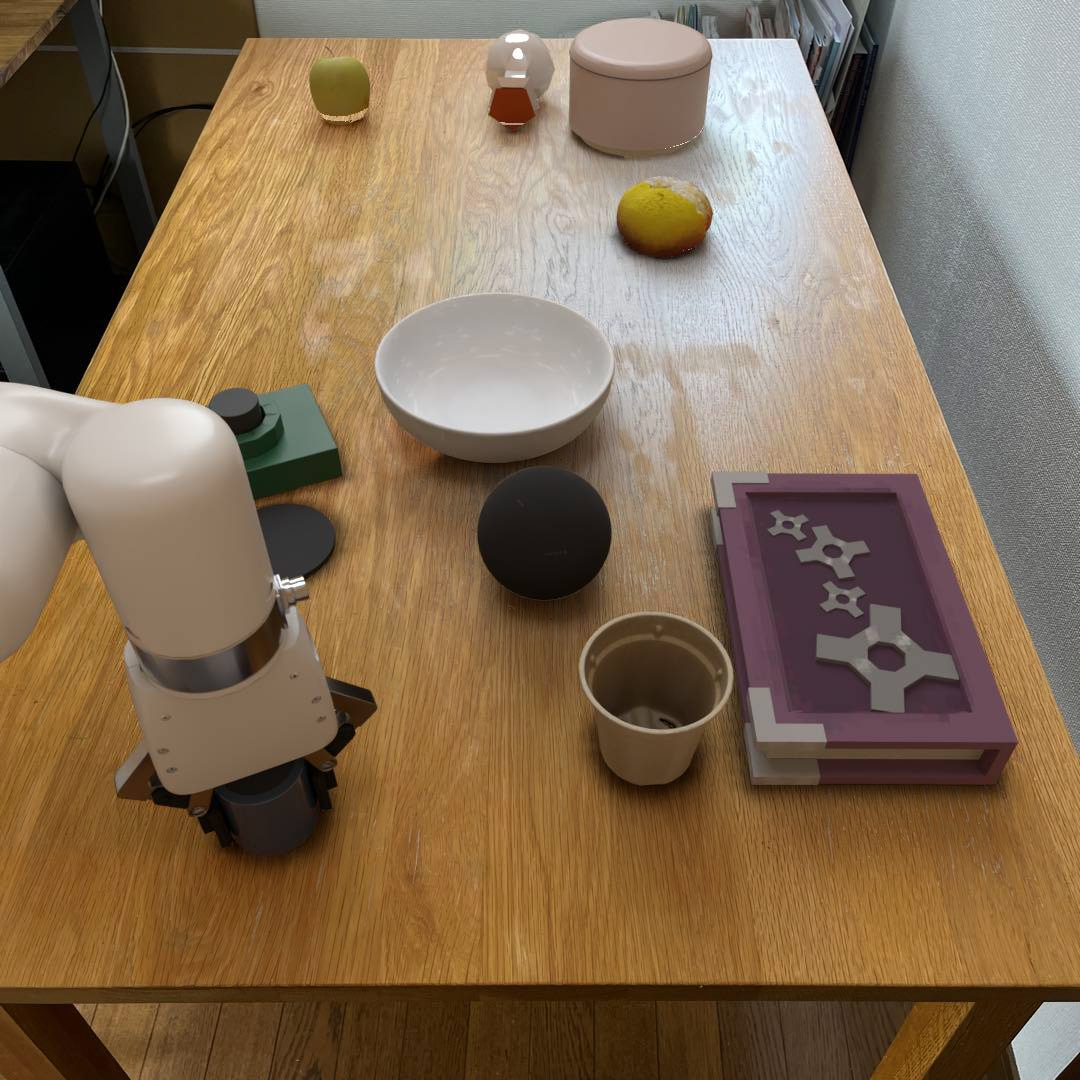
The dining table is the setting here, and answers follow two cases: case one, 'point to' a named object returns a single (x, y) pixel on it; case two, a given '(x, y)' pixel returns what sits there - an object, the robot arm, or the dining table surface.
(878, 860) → the dining table surface
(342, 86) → the apple
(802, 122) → the dining table surface
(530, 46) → the potion bottle
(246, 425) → the dark grey short cylinder
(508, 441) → the serving bowl
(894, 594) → the book
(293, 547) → the coaster
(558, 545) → the speaker
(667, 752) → the flower pot
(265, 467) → the green base stand
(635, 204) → the fruit
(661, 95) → the container
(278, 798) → the tumbler
